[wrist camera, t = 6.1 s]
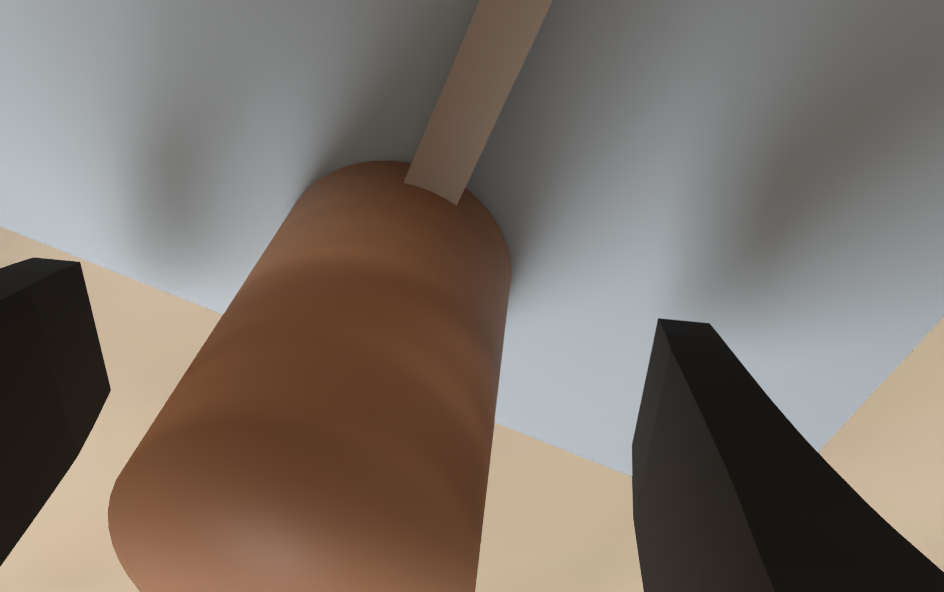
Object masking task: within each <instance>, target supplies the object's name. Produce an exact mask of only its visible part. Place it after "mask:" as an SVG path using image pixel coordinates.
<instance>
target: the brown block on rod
mask: <svg viewBox="0 0 944 592" xmlns="http://www.w3.org/2000/svg"><path fill="white" fill-rule="evenodd" d="M552 1H553V0H480V1H479V3H478V6H477V8H476V11H475V13H474V15H473V18H472V20H471V23H470V25H469V27H468V30H467V32H466V34H465V37H464V39H463V42H462V44H461V46H460V49H459V51H458V54H457V56H456V58H455V61H454V63H453V66H452V68H451V70H450V73H449V75H448V77H447V80H446V82H445V85H444V87H443V89H442V92H441V94H440V97H439V99H438V101H437V104H436V106H435V109H434V111H433V113H432V116H431V118H430V120H429V123H428V125H427V128H426V130H425V132H424V135H423V137H422V140H421V142H420V144H419V147H418V149H417V151H416V154H415V156H414V159H413V161H412V163H407V162H398V161H369V162H362V163H356V164H353V165H349V166H346V167H342V168H340V169H338V170H336V171H333V172H331V173H329V174H327V175H326V176H324V177H322V178H321V179H319V180H317V181H316V182H315V183H314V184H313V185H311V186H310V187H309V188H308V189H307V190H306V191H305V192H304V193H303V194H302V195H301V197H300V198H299V199H298V200H297V201H296V203H295V205H294V206H293V208H292V209H291V211H290V212H289V214H288V215H287V217H286V218H285V220H284V221H283V223H282V225H281V226H280V228H279V229H278V231H277V232H276V234H275V235H274V237H273V238H272V240H271V242H270V243H269V245H268V246H267V248H266V249H265V251H264V252H263V254H262V255H261V257H260V259H259V260H258V262H257V263H256V265H255V266H254V268H253V269H252V271H251V272H250V274H249V275H248V277H247V279H246V280H245V282H244V283H243V285H242V286H241V288H240V289H239V291H238V292H237V294H236V296H235V297H234V299H233V300H232V302H231V303H230V305H229V306H228V308H227V309H226V311H225V312H224V314H223V316H222V317H221V319H220V320H219V322H218V323H217V325H216V326H215V328H214V329H213V331H212V333H211V334H210V336H209V337H208V339H207V340H206V342H205V343H204V345H203V346H202V348H201V350H200V351H199V353H198V354H197V356H196V357H195V359H194V360H193V362H192V363H191V365H190V366H189V368H188V370H187V371H186V373H185V374H184V376H183V377H182V379H181V380H180V382H179V383H178V385H177V387H176V388H175V390H174V391H173V393H172V394H171V396H170V397H169V399H168V400H167V402H166V404H165V405H164V407H163V408H162V410H161V411H160V413H159V414H158V416H157V417H156V419H155V420H154V422H153V424H152V425H151V427H150V428H149V430H148V431H147V433H146V434H145V436H144V437H143V439H142V441H141V442H140V444H139V445H138V447H137V448H136V450H135V451H134V453H133V454H132V456H131V457H130V459H129V461H128V462H127V464H126V465H125V467H124V468H123V470H122V472H121V473H120V475H119V476H118V478H117V480H116V482H115V484H114V487H113V490H112V493H111V495H110V501H109V508H108V523H109V531H110V536H111V540H112V544H113V547H114V549H115V552H116V554H117V557H118V559H119V561H120V563H121V565H122V566H123V568H124V570H125V571H126V573H127V575H128V576H129V578H130V579H131V580H132V582H133V583H134V584H135V586H136V587H137V588H138V589H139V591H140V592H475V586H476V578H477V569H478V560H479V552H480V543H481V534H482V526H483V517H484V508H485V499H486V491H487V482H488V473H489V465H490V456H491V447H492V439H493V430H494V421H495V413H496V404H497V395H498V386H499V378H500V369H501V360H502V352H503V343H504V334H505V326H506V317H507V308H508V299H509V291H510V282H511V262H510V256H509V251H508V247H507V244H506V241H505V238H504V236H503V234H502V232H501V230H500V228H499V226H498V224H497V222H496V221H495V219H494V218H493V216H492V215H491V213H490V212H489V210H488V209H487V208H486V207H485V206H484V205H483V204H482V203H481V201H480V200H479V199H478V198H477V197H475V196H474V195H473V194H472V193H471V192H470V191H469V190H467V189H466V188H465V187H466V185H467V183H468V180H469V178H470V176H471V174H472V172H473V170H474V168H475V165H476V163H477V161H478V159H479V157H480V155H481V153H482V151H483V148H484V146H485V144H486V142H487V140H488V138H489V136H490V133H491V131H492V129H493V127H494V125H495V123H496V121H497V118H498V116H499V114H500V112H501V110H502V108H503V106H504V104H505V101H506V99H507V97H508V95H509V93H510V91H511V89H512V86H513V84H514V82H515V80H516V78H517V76H518V74H519V71H520V69H521V67H522V65H523V63H524V61H525V59H526V57H527V54H528V52H529V50H530V48H531V46H532V44H533V42H534V39H535V37H536V35H537V33H538V31H539V29H540V27H541V24H542V22H543V20H544V18H545V16H546V14H547V12H548V9H549V7H550V5H551V3H552Z"/></svg>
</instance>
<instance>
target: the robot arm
mask: <svg viewBox="0 0 944 592" xmlns="http://www.w3.org/2000/svg"><path fill="white" fill-rule="evenodd" d="M110 391H111V389H110V384H109V380H108V376H107V372H106V368H105V364H104V360H103V355H102V351H101V347H100V343H99V339H98V335H97V330H96V326H95V322H94V318H93V314H92V310H91V305H90V301H89V297H88V293H87V289H86V285H85V281H84V276H83V272H82V268H81V264H80V262H74V261H63V260H53V259H43V258H31V259H28V260H24V261H21V262H18V263H15V264H12V265H9V266H6V267H3V268H1V269H0V566H1V565H2V563H3V562H4V561H5V559H6V558H7V556H8V555H9V554H10V552H11V551H12V549H13V548H14V547H15V545H16V544H17V542H18V541H19V540H20V538H21V537H22V535H23V534H24V533H25V531H26V530H27V528H28V527H29V526H30V524H31V523H32V521H33V520H34V519H35V517H36V516H37V514H38V513H39V512H40V510H41V509H42V507H43V506H44V504H45V503H46V501H47V500H48V499H49V497H50V496H51V494H52V493H53V491H54V490H55V489H56V487H57V486H58V484H59V483H60V481H61V480H62V478H63V477H64V476H65V474H66V473H67V471H68V470H69V468H70V467H71V465H72V464H73V462H74V461H75V459H76V458H77V456H78V454H79V453H80V451H81V449H82V447H83V445H84V443H85V441H86V439H87V438H88V436H89V434H90V432H91V430H92V428H93V426H94V424H95V422H96V420H97V418H98V416H99V414H100V412H101V410H102V408H103V405H104V403H105V401H106V399H107V397H108V395H109V393H110ZM632 487H633V519H634V526H635V533H636V541H637V547H638V554H639V561H640V568H641V575H642V582H643V588H644V592H944V572H943V571H942V570H940V569H939V568H938V567H937V566H936V565H935V564H934V563H932V562H931V561H930V560H929V559H928V558H927V557H926V556H924V555H923V554H922V553H921V552H920V551H919V550H918V549H917V548H915V547H914V546H913V545H912V544H911V543H910V542H909V541H907V540H906V539H905V538H904V537H903V536H902V535H901V534H899V533H898V532H897V531H896V530H895V529H894V528H893V527H892V526H891V525H890V524H888V523H887V522H886V521H885V520H884V519H883V518H882V517H881V516H880V515H879V514H878V513H877V512H876V511H875V510H874V509H873V508H872V507H870V506H869V505H868V504H867V503H866V502H865V501H864V500H863V499H862V498H861V497H860V496H859V494H858V493H857V492H856V491H855V490H854V489H853V488H852V487H851V486H850V485H849V484H848V483H847V482H846V481H845V480H844V479H843V478H842V477H841V476H840V475H839V474H838V473H837V472H836V471H835V470H834V469H833V468H832V467H831V466H830V465H829V464H828V463H827V462H826V461H825V460H824V459H823V458H822V456H821V455H820V454H819V453H818V452H817V451H816V450H815V449H814V448H813V447H812V446H811V445H810V443H809V442H808V441H807V440H806V439H805V438H804V437H803V436H802V435H801V434H800V432H799V431H798V430H797V429H796V428H795V427H794V426H793V424H792V423H791V422H790V421H789V420H788V419H787V418H786V416H785V415H784V414H783V413H782V412H781V411H780V409H779V408H778V407H777V406H776V405H775V404H774V402H773V401H772V400H771V399H770V398H769V396H768V395H767V394H766V393H765V392H764V390H763V389H762V388H761V387H760V385H759V384H758V383H757V382H756V380H755V379H754V378H753V377H752V375H751V374H750V373H749V372H748V371H747V369H746V368H745V367H744V366H743V364H742V363H741V362H740V360H739V359H738V358H737V357H736V355H735V354H734V353H733V352H732V350H731V349H730V348H729V347H728V345H727V344H726V343H725V342H724V340H723V339H722V338H721V337H720V335H719V334H718V333H717V332H716V330H715V329H714V328H713V327H712V326H711V324H710V323H702V322H692V321H682V320H671V319H661V318H658V321H657V326H656V331H655V336H654V341H653V345H652V350H651V355H650V360H649V365H648V370H647V375H646V379H645V384H644V389H643V394H642V399H641V404H640V408H639V413H638V418H637V423H636V428H635V433H634V437H633V442H632Z"/></svg>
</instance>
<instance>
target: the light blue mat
mask: <svg viewBox="0 0 944 592" xmlns="http://www.w3.org/2000/svg"><path fill="white" fill-rule="evenodd" d="M479 1H480V0H0V227H3V228H5V229H8V230H11V231H13V232H16V233H18V234H21V235H23V236H26V237H28V238H31V239H33V240H36V241H38V242H41V243H43V244H46V245H48V246H51V247H53V248H56V249H58V250H61V251H64V252H66V253H69V254H71V255H74V256H76V257H79V258H81V259H84V260H86V261H89V262H91V263H94V264H96V265H99V266H101V267H104V268H106V269H109V270H111V271H114V272H117V273H119V274H122V275H124V276H127V277H129V278H132V279H134V280H137V281H139V282H142V283H144V284H147V285H149V286H152V287H154V288H157V289H159V290H162V291H164V292H167V293H170V294H172V295H175V296H177V297H180V298H182V299H185V300H187V301H190V302H192V303H195V304H197V305H200V306H202V307H205V308H207V309H210V310H212V311H215V312H217V313H220V314H222V315H223V314H224V312H225V311H226V309H227V308H228V306H229V305H230V303H231V302H232V300H233V299H234V297H235V296H236V294H237V292H238V291H239V289H240V288H241V286H242V285H243V283H244V282H245V280H246V279H247V277H248V275H249V274H250V272H251V271H252V269H253V268H254V266H255V265H256V263H257V262H258V260H259V259H260V257H261V255H262V254H263V252H264V251H265V249H266V248H267V246H268V245H269V243H270V242H271V240H272V238H273V237H274V235H275V234H276V232H277V231H278V229H279V228H280V226H281V225H282V223H283V221H284V220H285V218H286V217H287V215H288V214H289V212H290V211H291V209H292V208H293V206H294V205H295V203H296V201H297V200H298V199H299V198H300V197H301V195H302V194H303V193H304V192H305V191H306V190H307V189H308V188H309V187H310V186H311V185H313V184H314V183H315V182H316V181H317V180H319V179H321V178H322V177H324V176H326V175H327V174H329V173H331V172H333V171H336V170H338V169H340V168H342V167H346V166H349V165H353V164H356V163H362V162H369V161H398V162H407V163H412V161H413V159H414V156H415V154H416V151H417V149H418V147H419V144H420V142H421V140H422V137H423V135H424V132H425V130H426V128H427V125H428V123H429V120H430V118H431V116H432V113H433V111H434V109H435V106H436V104H437V101H438V99H439V97H440V94H441V92H442V89H443V87H444V85H445V82H446V80H447V77H448V75H449V73H450V70H451V68H452V66H453V63H454V61H455V58H456V56H457V54H458V51H459V49H460V46H461V44H462V42H463V39H464V37H465V34H466V32H467V30H468V27H469V25H470V23H471V20H472V18H473V15H474V13H475V11H476V8H477V6H478V3H479ZM465 188H466V189H467V190H469V191H470V192H471V193H472V194H473V195H474V196H475V197H477V198H478V199H479V200H480V201H481V203H482V204H483V205H484V206H485V207H486V208H487V209H488V210H489V212H490V213H491V215H492V216H493V218H494V219H495V221H496V222H497V224H498V226H499V228H500V230H501V232H502V234H503V236H504V238H505V241H506V244H507V247H508V251H509V256H510V262H511V282H510V291H509V299H508V308H507V317H506V326H505V334H504V343H503V352H502V360H501V369H500V378H499V386H498V395H497V404H496V413H495V421H494V422H495V423H498V424H500V425H503V426H505V427H508V428H510V429H513V430H515V431H518V432H520V433H523V434H525V435H528V436H530V437H533V438H535V439H538V440H540V441H543V442H545V443H548V444H550V445H553V446H556V447H558V448H561V449H563V450H566V451H568V452H571V453H573V454H576V455H578V456H581V457H583V458H586V459H588V460H591V461H593V462H596V463H598V464H601V465H603V466H606V467H609V468H611V469H614V470H616V471H619V472H621V473H624V474H626V475H629V476H631V477H632V442H633V437H634V433H635V428H636V423H637V418H638V413H639V408H640V404H641V399H642V394H643V389H644V384H645V379H646V375H647V370H648V365H649V360H650V355H651V350H652V345H653V341H654V336H655V331H656V326H657V321H658V318H661V319H671V320H682V321H692V322H702V323H710V324H711V326H712V327H713V328H714V329H715V330H716V332H717V333H718V334H719V335H720V337H721V338H722V339H723V340H724V342H725V343H726V344H727V345H728V347H729V348H730V349H731V350H732V352H733V353H734V354H735V355H736V357H737V358H738V359H739V360H740V362H741V363H742V364H743V366H744V367H745V368H746V369H747V371H748V372H749V373H750V374H751V375H752V377H753V378H754V379H755V380H756V382H757V383H758V384H759V385H760V387H761V388H762V389H763V390H764V392H765V393H766V394H767V395H768V396H769V398H770V399H771V400H772V401H773V402H774V404H775V405H776V406H777V407H778V408H779V409H780V411H781V412H782V413H783V414H784V415H785V416H786V418H787V419H788V420H789V421H790V422H791V423H792V424H793V426H794V427H795V428H796V429H797V430H798V431H799V432H800V434H801V435H802V436H803V437H804V438H805V439H806V440H807V441H808V442H809V443H810V445H811V446H812V447H813V448H814V449H815V450H816V451H817V452H818V451H819V450H820V449H821V448H822V447H823V446H824V445H825V444H826V443H827V442H828V441H829V440H830V438H831V437H832V436H833V435H834V434H835V433H836V432H837V431H838V430H839V429H840V428H841V427H842V426H843V424H844V423H845V422H846V421H847V420H848V419H849V418H850V417H851V416H852V415H853V414H854V413H855V412H856V410H857V409H858V408H859V407H860V406H861V405H862V404H863V403H864V402H865V401H866V400H867V399H868V398H869V396H870V395H871V394H872V393H873V392H874V391H875V390H876V389H877V388H878V387H879V386H880V385H881V384H882V382H883V381H884V380H885V379H886V378H887V377H888V376H889V375H890V374H891V373H892V372H893V371H894V370H895V368H896V367H897V366H898V365H899V364H900V363H901V362H902V361H903V360H904V359H905V358H906V357H907V356H908V354H909V353H910V352H911V351H912V350H913V349H914V348H915V347H916V346H917V345H918V344H919V343H920V342H921V340H922V339H923V338H924V337H925V336H926V335H927V334H928V333H929V332H930V331H931V330H932V329H933V328H934V326H935V325H936V324H937V323H938V322H939V321H940V320H941V319H942V318H943V317H944V0H553V1H552V3H551V5H550V7H549V9H548V12H547V14H546V16H545V18H544V20H543V22H542V24H541V27H540V29H539V31H538V33H537V35H536V37H535V39H534V42H533V44H532V46H531V48H530V50H529V52H528V54H527V57H526V59H525V61H524V63H523V65H522V67H521V69H520V71H519V74H518V76H517V78H516V80H515V82H514V84H513V86H512V89H511V91H510V93H509V95H508V97H507V99H506V101H505V104H504V106H503V108H502V110H501V112H500V114H499V116H498V118H497V121H496V123H495V125H494V127H493V129H492V131H491V133H490V136H489V138H488V140H487V142H486V144H485V146H484V148H483V151H482V153H481V155H480V157H479V159H478V161H477V163H476V165H475V168H474V170H473V172H472V174H471V176H470V178H469V180H468V183H467V185H466V187H465Z"/></svg>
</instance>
